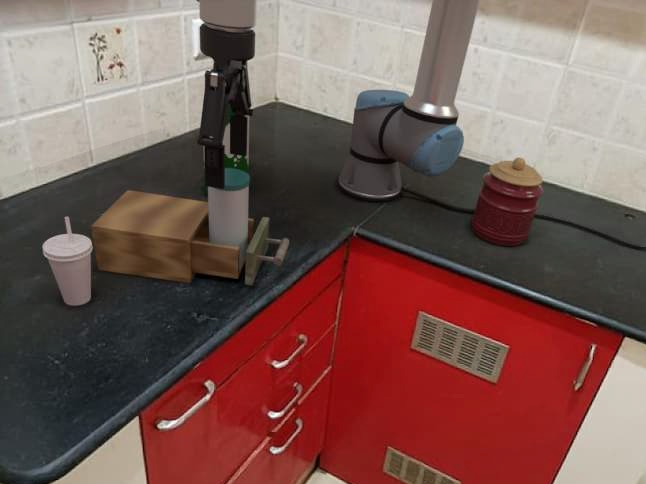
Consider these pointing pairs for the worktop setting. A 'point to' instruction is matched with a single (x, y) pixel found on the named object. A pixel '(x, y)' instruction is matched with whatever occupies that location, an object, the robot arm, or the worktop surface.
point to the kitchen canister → (507, 203)
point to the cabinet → (149, 235)
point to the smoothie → (71, 265)
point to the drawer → (234, 253)
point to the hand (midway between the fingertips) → (227, 169)
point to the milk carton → (230, 159)
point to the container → (230, 211)
